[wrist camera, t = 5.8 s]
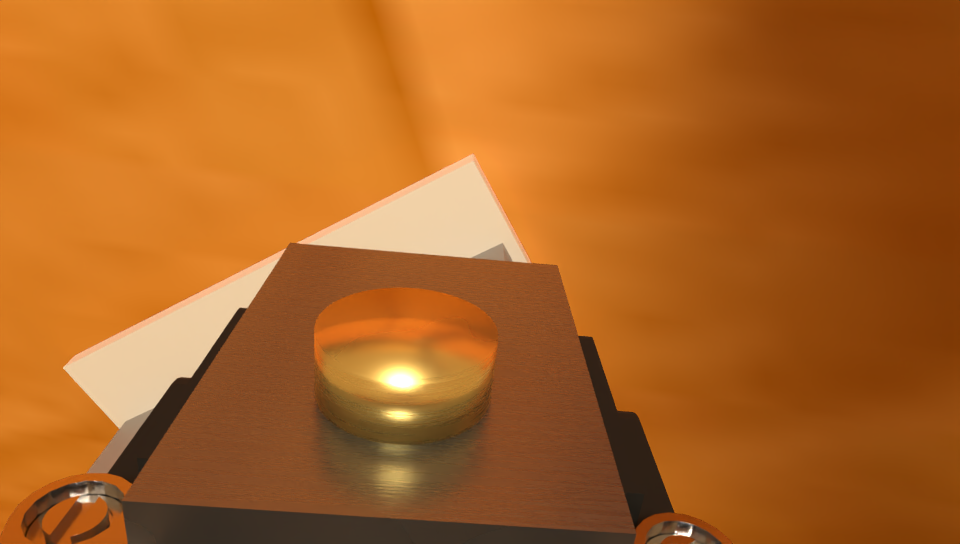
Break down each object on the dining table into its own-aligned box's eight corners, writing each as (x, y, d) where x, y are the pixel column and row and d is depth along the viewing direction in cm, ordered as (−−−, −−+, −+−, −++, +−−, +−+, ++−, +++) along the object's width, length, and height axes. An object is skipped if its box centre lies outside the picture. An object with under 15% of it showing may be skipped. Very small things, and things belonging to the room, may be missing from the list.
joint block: (289, 197, 11) (110, 424, 6) (564, 221, 11) (654, 462, 6) (294, 509, 14) (177, 872, 8) (516, 523, 14) (547, 885, 8)
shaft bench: (75, 355, 30) (-32, 462, 24) (473, 153, 26) (472, 217, 20) (235, 531, 35) (182, 660, 28) (594, 381, 31) (625, 492, 25)
